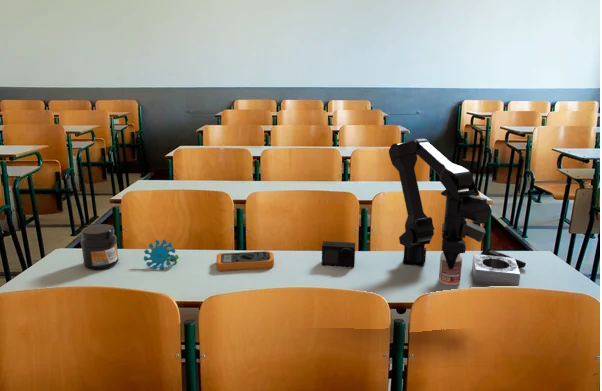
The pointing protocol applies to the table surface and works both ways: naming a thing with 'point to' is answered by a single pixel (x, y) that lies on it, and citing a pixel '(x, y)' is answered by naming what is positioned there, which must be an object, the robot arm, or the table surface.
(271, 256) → the multimeter
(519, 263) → the electric trimmer
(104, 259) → the supplement container
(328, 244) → the digital camera
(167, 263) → the toy virus model
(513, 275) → the grey square holder
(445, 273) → the pill bottle
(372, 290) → the table surface
